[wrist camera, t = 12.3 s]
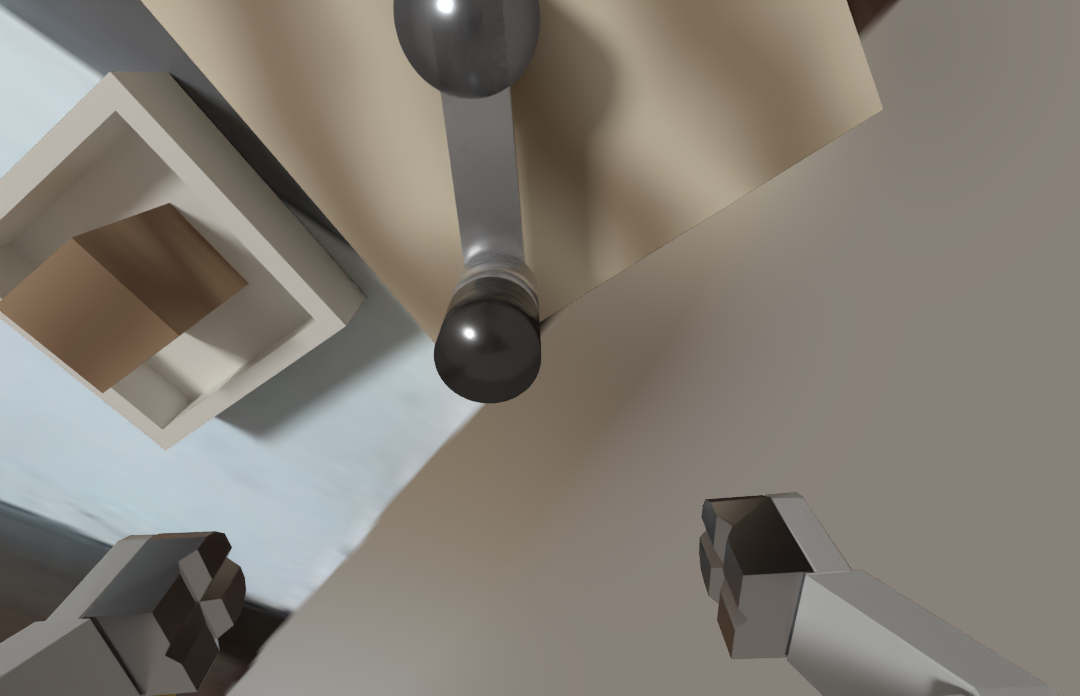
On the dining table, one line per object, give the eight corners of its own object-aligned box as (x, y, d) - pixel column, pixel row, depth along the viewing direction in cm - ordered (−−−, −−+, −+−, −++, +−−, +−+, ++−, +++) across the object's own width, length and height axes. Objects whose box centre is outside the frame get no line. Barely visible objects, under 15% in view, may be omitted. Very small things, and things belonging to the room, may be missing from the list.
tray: (167, 71, 19) (109, 71, 17) (367, 297, 23) (346, 326, 21) (-4, 233, 22) (-78, 256, 19) (202, 412, 26) (165, 450, 23)
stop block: (104, 258, 22) (-7, 306, 17) (169, 202, 21) (71, 237, 16) (184, 332, 23) (102, 393, 19) (248, 283, 22) (178, 335, 18)
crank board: (584, -664, 13) (592, -759, 11) (860, 107, 20) (885, 109, 19) (81, -98, 17) (40, -114, 16) (463, 356, 25) (459, 373, 23)
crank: (404, -44, 16) (312, -131, 9) (533, -54, 16) (537, -148, 9) (455, 300, 22) (420, 407, 15) (554, 293, 22) (566, 398, 15)
